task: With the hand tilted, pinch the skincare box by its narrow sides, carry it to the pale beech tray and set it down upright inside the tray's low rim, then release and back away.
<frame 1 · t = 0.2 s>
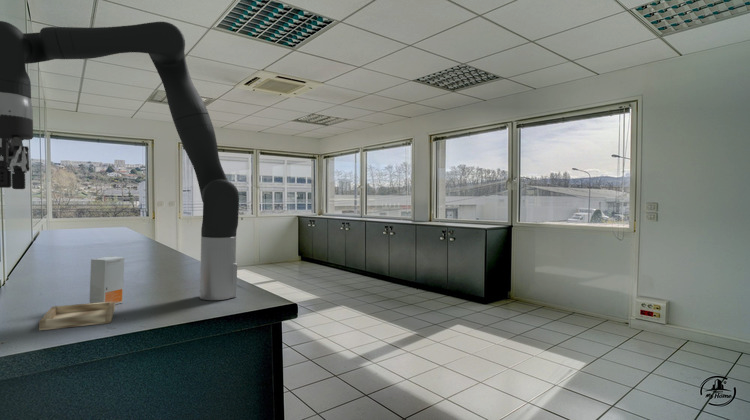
hand: (12, 188, 87), 29 cm above the countertop, tool pointing down, fingers open, 8 cm apart
holder: (80, 318, 86), on the countertop
skincare box: (106, 305, 98), on the countertop
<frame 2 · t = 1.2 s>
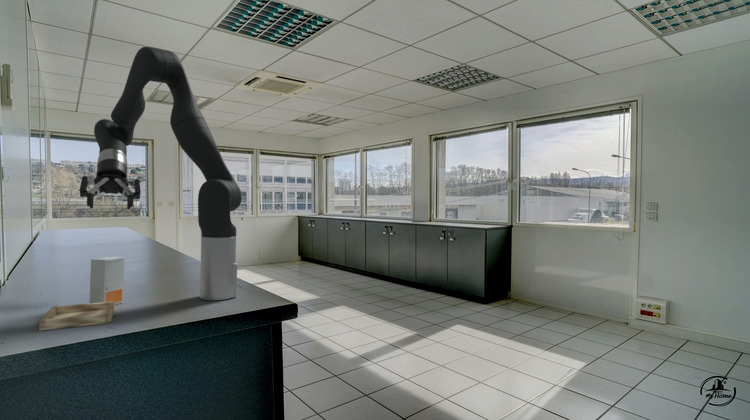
hand: (110, 206, 106), 25 cm above the countertop, tool tilted 45°, fingers open, 8 cm apart
nothing on the countertop moved.
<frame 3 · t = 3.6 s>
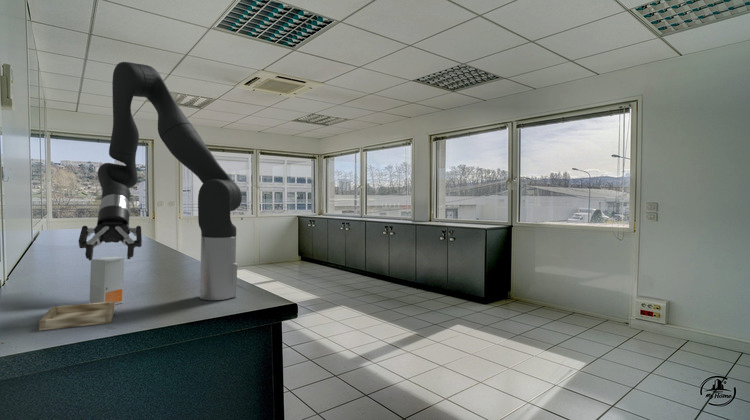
hand: (109, 258, 102), 11 cm above the countertop, tool tilted 45°, fingers open, 8 cm apart
nothing on the countertop moved.
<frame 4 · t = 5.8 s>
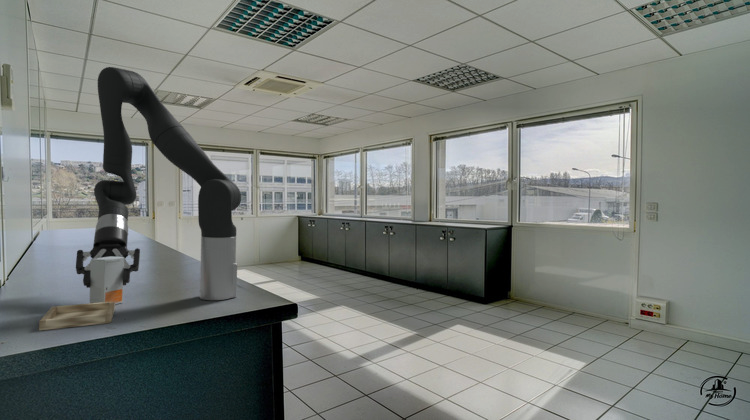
hand: (106, 284, 96), 5 cm above the countertop, tool tilted 45°, fingers closed on skincare box, 7 cm apart
skincare box: (106, 305, 98), on the countertop, touching gripper
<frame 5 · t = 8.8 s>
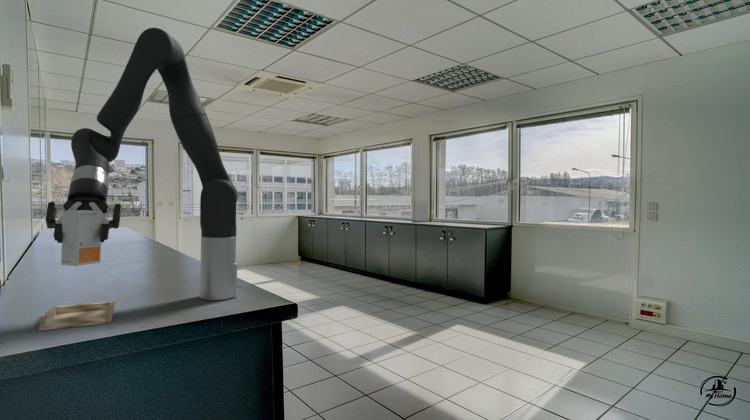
hand: (81, 240, 85), 18 cm above the countertop, tool tilted 45°, fingers closed on skincare box, 7 cm apart
skincare box: (81, 264, 86), point 12 cm above the countertop, touching gripper
when the fingers open (7 cm above the countertop, at t = 11.8 s): skincare box stays where it is, resting on holder.
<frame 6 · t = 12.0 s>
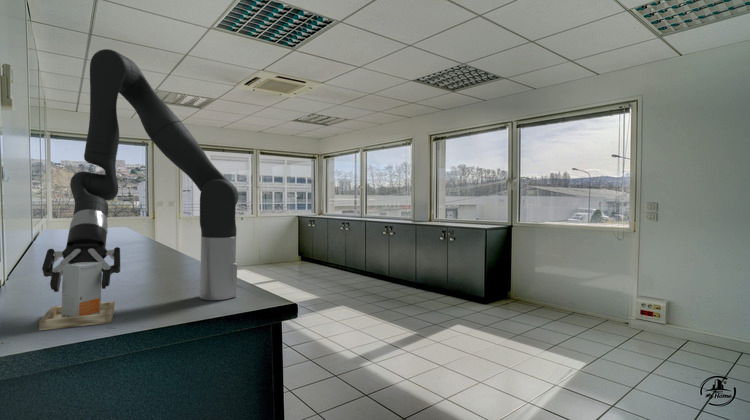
hand: (80, 288, 85), 7 cm above the countertop, tool tilted 45°, fingers open, 8 cm apart
skincare box: (81, 317, 86), resting on holder
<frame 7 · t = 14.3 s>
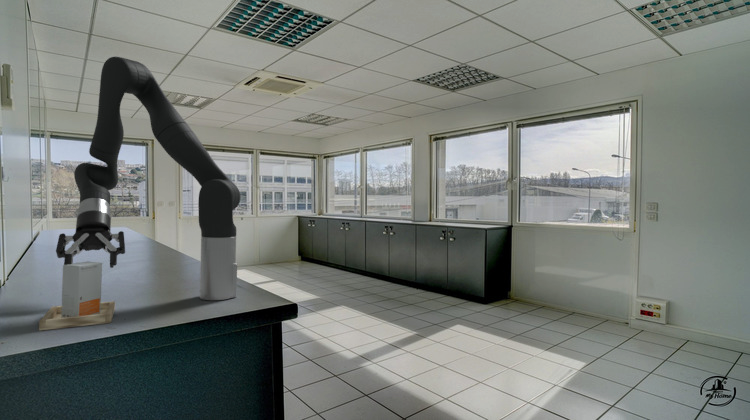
hand: (91, 267, 96), 10 cm above the countertop, tool tilted 45°, fingers open, 8 cm apart
nothing on the countertop moved.
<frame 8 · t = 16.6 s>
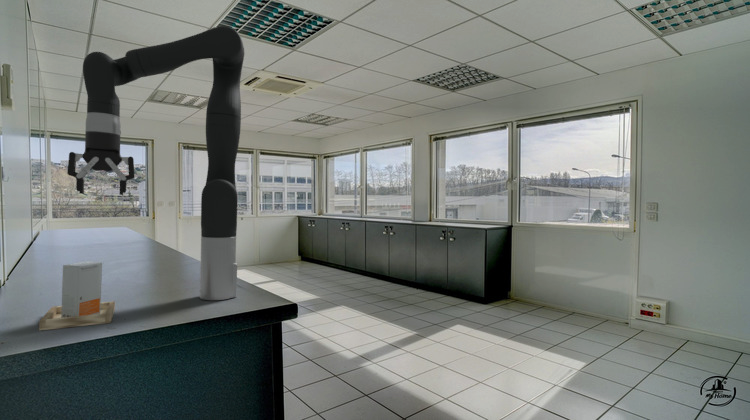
hand: (102, 194, 101), 28 cm above the countertop, tool pointing down, fingers open, 8 cm apart
nothing on the countertop moved.
at the end: skincare box inside the target area on the holder (0.3 cm from its centre), point 0.2 cm above the holder's base; skincare box tilted 0°; the gripper is holding nothing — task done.
